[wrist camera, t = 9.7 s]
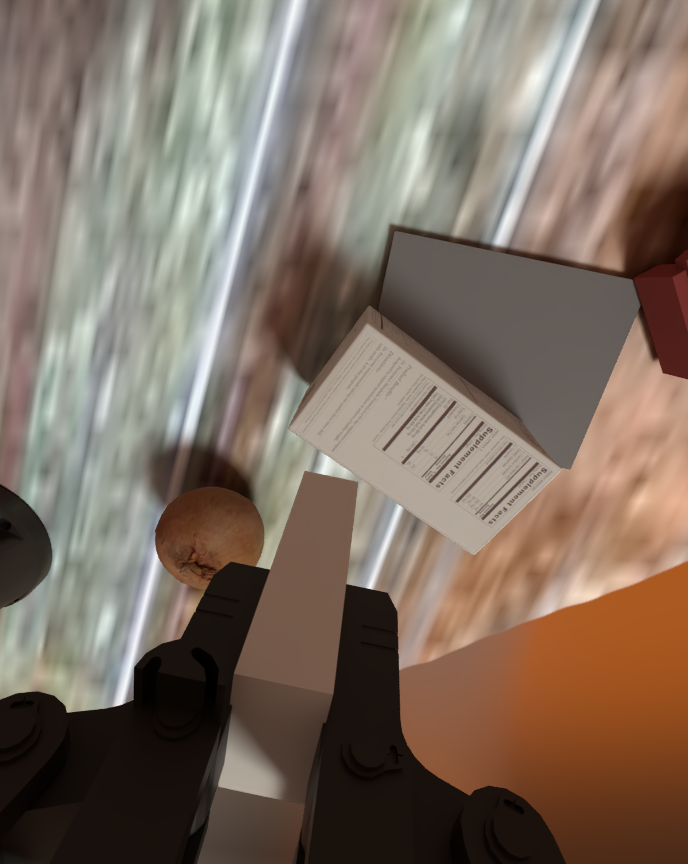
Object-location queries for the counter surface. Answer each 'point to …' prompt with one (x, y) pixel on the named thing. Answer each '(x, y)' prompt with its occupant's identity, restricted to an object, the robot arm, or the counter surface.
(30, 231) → the counter surface
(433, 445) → the supplement box
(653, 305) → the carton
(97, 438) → the counter surface
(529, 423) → the mat
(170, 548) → the onion
